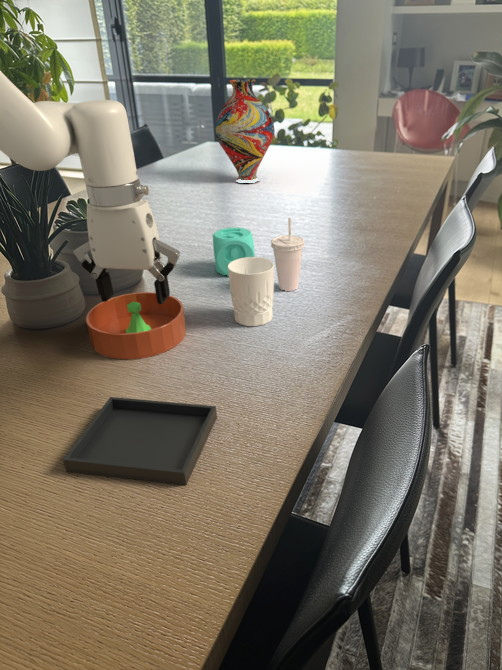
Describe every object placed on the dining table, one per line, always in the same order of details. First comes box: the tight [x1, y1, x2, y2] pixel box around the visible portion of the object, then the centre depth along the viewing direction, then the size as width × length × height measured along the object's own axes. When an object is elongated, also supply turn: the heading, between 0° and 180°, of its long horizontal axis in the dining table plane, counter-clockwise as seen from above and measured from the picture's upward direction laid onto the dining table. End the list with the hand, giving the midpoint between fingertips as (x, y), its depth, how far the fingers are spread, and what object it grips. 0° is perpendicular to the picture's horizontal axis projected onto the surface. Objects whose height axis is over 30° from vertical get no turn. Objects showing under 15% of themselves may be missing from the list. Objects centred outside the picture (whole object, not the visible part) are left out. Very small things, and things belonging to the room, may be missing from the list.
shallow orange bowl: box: [85, 291, 187, 360], centre depth 93 cm, size 16×16×4 cm
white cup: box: [228, 256, 275, 327], centre depth 96 cm, size 8×8×10 cm
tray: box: [62, 396, 218, 486], centre depth 69 cm, size 15×13×2 cm
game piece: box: [126, 302, 151, 333], centre depth 92 cm, size 4×4×6 cm
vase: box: [215, 78, 275, 180], centre depth 176 cm, size 19×19×30 cm
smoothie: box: [270, 217, 305, 292], centre depth 106 cm, size 6×6×14 cm
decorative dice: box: [212, 227, 256, 277], centre depth 116 cm, size 8×8×8 cm
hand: (135, 299), depth 90 cm, fingers open, 9 cm apart
